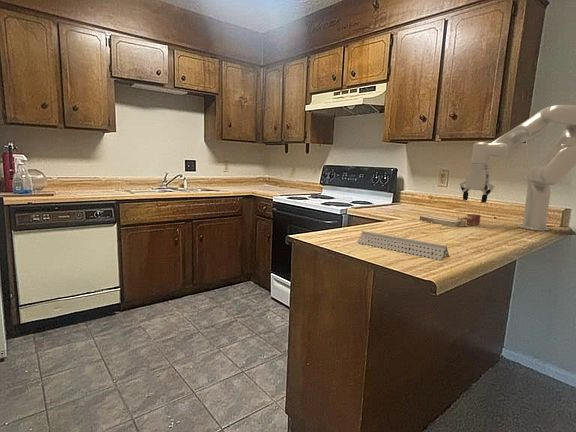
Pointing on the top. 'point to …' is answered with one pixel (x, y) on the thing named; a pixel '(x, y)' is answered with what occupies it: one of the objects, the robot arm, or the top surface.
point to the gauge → (471, 219)
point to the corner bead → (404, 245)
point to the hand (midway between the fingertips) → (474, 201)
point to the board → (443, 220)
